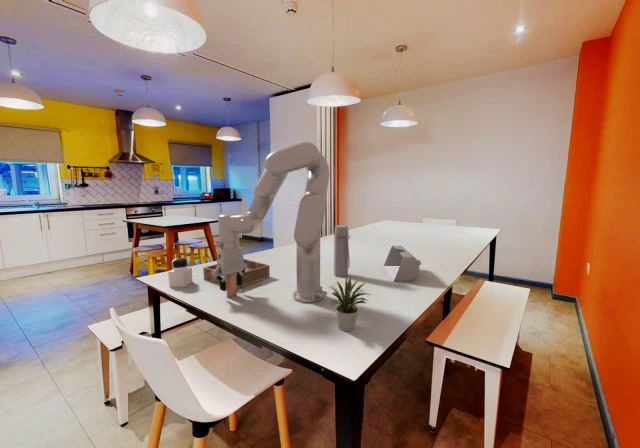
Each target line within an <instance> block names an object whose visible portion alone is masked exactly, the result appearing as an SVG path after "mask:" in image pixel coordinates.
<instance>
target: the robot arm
mask: <svg viewBox="0 0 640 448" xmlns="http://www.w3.org/2000/svg"><path fill="white" fill-rule="evenodd" d="M264 167H265V168H264V169H263V172H261V176H260V177H259V179H258V181H257V183H256V184H255V186H254V196H253V199H252V202H251V204H250V205H249V207H248V210H247V211H246V213H244V214H238V215H237V214H236V213H222V214H220V215H218V219H217V220H218V238H219V239H218V240H219V242H218V244H216V247H217V248H218V250H217V259H216V264H217V268H216V269H215V270H214V271H213V273H212V275H213V276H214V277H215V278H216V279H218V280H219V283H220V285H219V289H220V291H222V292H226V281H224V280H225V278H226V275H230V274H233V273H237V275H236V284H237V285H239V286H242V276H243V273H244V272H245V269H246V268H247V266H248V265H247V264H246V263H244V259H245V258H244V253H243V249H242V247H241V246H240V234H251V233H252V232H254V231H256V229H258V228H260V226H261V224H262V223H263V221H264V219H265V218H266V216H267V213H268V212H269V210H270V208H271V205H272V204H273V202H274V201H275V198H276V196H277V195H278V192H279V190H280V188H281V187H282V185H283V184H284V182H285V180H286V178H287V176H288V175H289V173H292V172H296V171H299V170H301V169H306V171H307V177H306V182H305V188H304V193H303V196H302V198H301V199H300V201H299V206H298V210H297V214H296V215H297V216H296V221H295V226H294V231H293V238H294V241H295V242H296V249H295V250H296V258H295V259H296V260H295V261H296V262H295V263H296V290H295V291H294V292H293V293H292V297H293V299H294V300H296V302H303V303H315V302H319V301H321V300H322V299H323V300H324V299H326V298H327V295H328V292H327V291H325V290H323V286H321V233H322V230H323V223H324V218H325V213H326V206H327V204H326V199H327V193H328V189H329V182H330V181H329V180H330V167H329V164H328V161H327V159H326V158H325V156H324V155H323V154H322V153H321V152H320V151H319V148H318V147H317V145H316V144H314V143H312V142H309V141H304V142H301V143H297V144H293V145H292V146H291V145H290V146H287V147H285V148H282V149H281V148H280V149H278V150H275V151H273V152H271V153H269V154H268V155H267V157H265V160H264ZM218 273H220V275H218ZM242 287H243V286H242Z"/></svg>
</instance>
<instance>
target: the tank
mask: <svg viewBox="0 0 640 448" xmlns="http://www.w3.org/2000/svg"><path fill="white" fill-rule="evenodd" d="M388 252H389V253H388V255H387V256H386V260H385V261H384V264H383V267H384V266H400V267H399V270H398V272H397V274H396V277H395V279H394V281H413V282H414V281H415V280H416V279H417V277H418V276H419V275H420V267H421V266H420V265H421V264H422V263H421V262H422V261H421V260H420V259H417V258H416V257H415V256H414V255H413V254H412V253H410V252H409V250H407V249H406V248H404V247H403V246H402V245H392V246H391V247H390V250H389V251H388ZM394 281H393V282H394Z"/></svg>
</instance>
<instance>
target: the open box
mask: <svg viewBox="0 0 640 448" xmlns="http://www.w3.org/2000/svg"><path fill="white" fill-rule="evenodd" d="M244 263H246V264H247V265H248V266H247V268H250V269H252V270H249V271H246V272H244V273H243V276H242V286H239V285H237V284H236V286H237V289H238V288H242V287H245V286H247V285H250V284H251V285H252V284H253V283H257V282H260V281H262V280H265V279H268V278H270V265H269V264H266V263H261V262H258V261H255V260H251V259H247V258H244ZM216 268H217V263H216V264H212V265H208V266H203V269H202V270H203V271H202V272H203V280H204V281H206V282H210V283H212V284H214V285H217V286H220V283H219V280H218V279H216V278H215V277H214V276H213V275H212V273H213V271H214V270H215V269H216ZM218 275H220V273H218ZM236 275H237V274H236ZM224 281H226V278H225V280H224Z"/></svg>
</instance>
